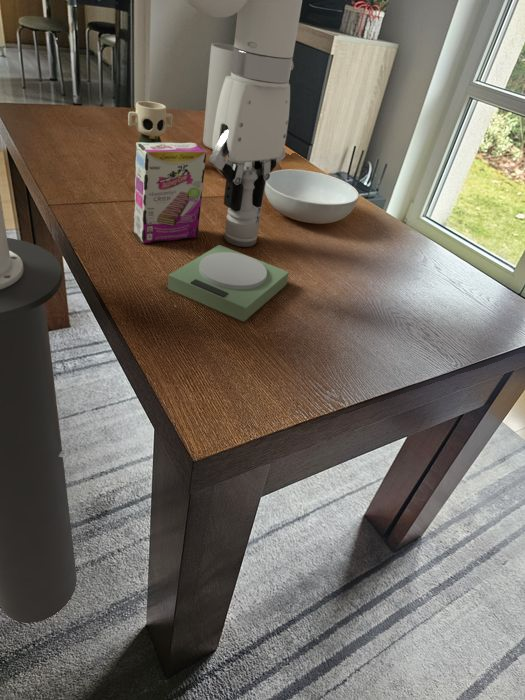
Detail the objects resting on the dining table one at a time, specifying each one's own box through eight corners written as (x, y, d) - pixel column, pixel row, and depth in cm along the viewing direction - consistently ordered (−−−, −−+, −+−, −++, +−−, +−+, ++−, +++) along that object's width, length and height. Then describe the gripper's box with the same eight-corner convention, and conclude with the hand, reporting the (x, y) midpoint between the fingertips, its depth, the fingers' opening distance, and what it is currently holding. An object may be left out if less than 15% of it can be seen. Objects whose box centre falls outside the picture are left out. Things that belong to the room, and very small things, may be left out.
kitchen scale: (243, 322, 76) (246, 303, 74) (167, 288, 80) (168, 270, 78) (286, 284, 87) (290, 267, 85) (217, 257, 91) (219, 240, 89)
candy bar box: (143, 245, 90) (145, 151, 80) (133, 233, 93) (133, 141, 84) (199, 238, 96) (207, 150, 86) (188, 227, 99) (194, 141, 89)
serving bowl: (276, 190, 124) (281, 162, 120) (358, 213, 120) (366, 184, 116) (246, 217, 108) (251, 185, 104) (340, 244, 104) (349, 212, 100)
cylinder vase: (193, 144, 144) (201, 43, 129) (219, 138, 153) (229, 43, 138) (229, 156, 140) (241, 54, 125) (253, 150, 149) (267, 53, 134)
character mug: (131, 165, 122) (132, 107, 114) (124, 155, 127) (124, 99, 119) (175, 165, 127) (178, 110, 119) (166, 156, 132) (168, 102, 124)
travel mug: (218, 233, 99) (230, 126, 87) (249, 232, 102) (265, 128, 90) (228, 248, 95) (242, 137, 83) (260, 247, 97) (279, 139, 85)
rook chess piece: (252, 230, 75) (260, 176, 70) (223, 223, 75) (229, 170, 71) (257, 219, 79) (265, 167, 74) (229, 213, 79) (235, 161, 74)
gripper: (286, 64, 72) (266, 190, 83) (191, 59, 62) (182, 204, 73) (325, 76, 68) (298, 207, 79) (229, 74, 58) (213, 224, 69)
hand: (242, 204), depth 75 cm, fingers closed on rook chess piece, 3 cm apart
